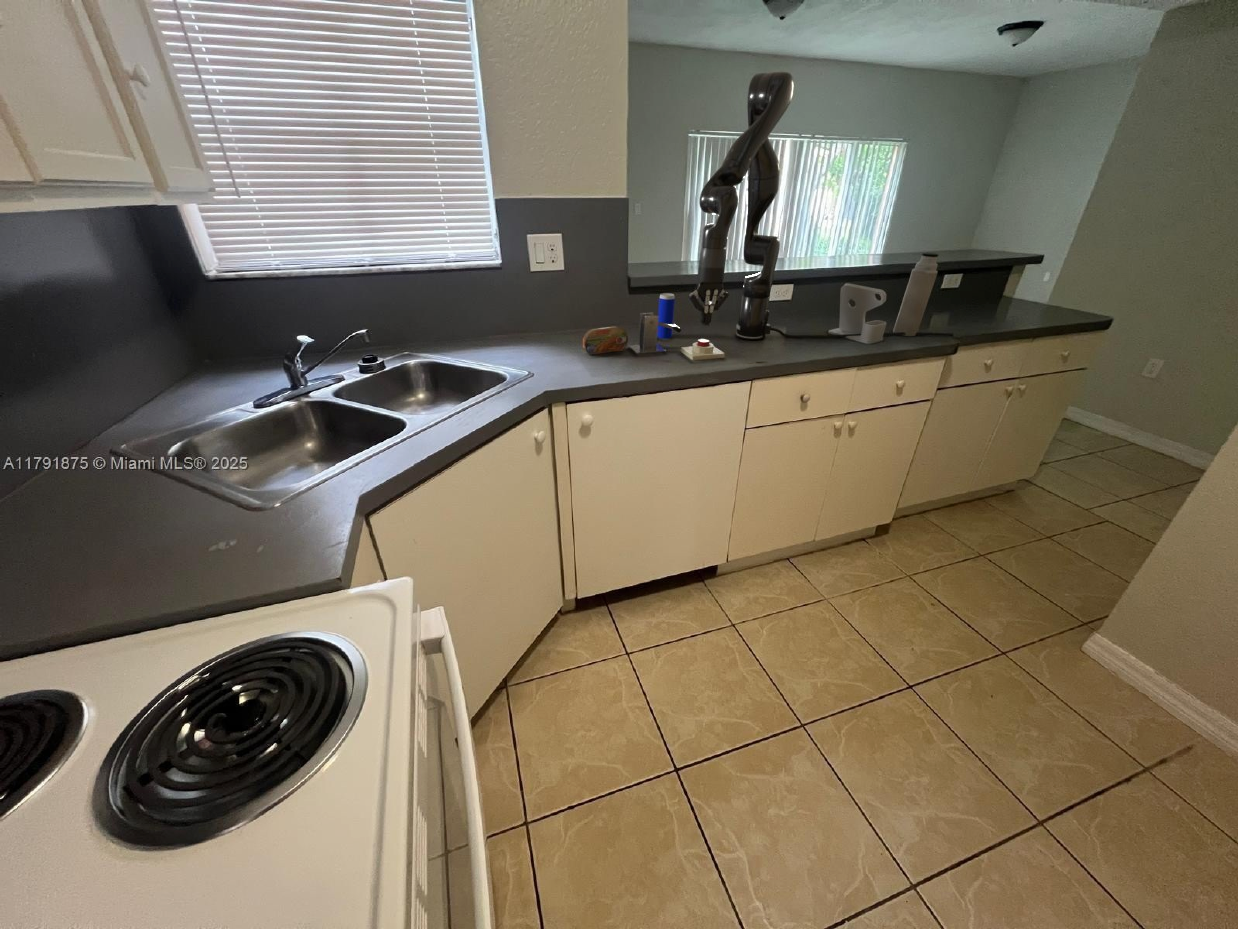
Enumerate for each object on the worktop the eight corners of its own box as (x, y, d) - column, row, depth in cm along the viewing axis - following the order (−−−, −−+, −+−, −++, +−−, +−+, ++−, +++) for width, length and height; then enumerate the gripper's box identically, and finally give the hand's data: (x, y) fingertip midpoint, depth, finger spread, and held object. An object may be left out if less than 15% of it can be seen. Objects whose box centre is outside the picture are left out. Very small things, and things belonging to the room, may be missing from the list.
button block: (710, 351, 159) (712, 339, 157) (724, 360, 152) (725, 347, 150) (680, 354, 156) (681, 341, 154) (692, 363, 149) (693, 350, 147)
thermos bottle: (894, 329, 188) (918, 250, 174) (917, 332, 184) (944, 252, 170) (891, 333, 182) (916, 253, 168) (915, 337, 179) (943, 255, 164)
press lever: (673, 330, 159) (676, 323, 158) (679, 334, 155) (682, 327, 154) (640, 321, 154) (643, 313, 154) (646, 325, 150) (649, 317, 149)
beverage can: (671, 337, 172) (675, 293, 165) (671, 341, 168) (675, 296, 160) (657, 336, 173) (659, 292, 165) (656, 340, 168) (659, 295, 161)
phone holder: (885, 340, 174) (901, 288, 165) (869, 344, 170) (884, 291, 160) (842, 328, 187) (855, 279, 177) (826, 332, 182) (838, 282, 173)
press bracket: (656, 346, 162) (659, 310, 156) (666, 354, 156) (668, 316, 150) (628, 349, 160) (629, 312, 154) (636, 356, 153) (638, 318, 147)
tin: (585, 358, 150) (585, 331, 146) (581, 355, 153) (580, 328, 148) (628, 352, 157) (628, 326, 152) (623, 349, 159) (624, 323, 155)
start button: (705, 343, 154) (706, 338, 153) (710, 347, 151) (711, 341, 150) (695, 344, 153) (696, 339, 152) (700, 348, 150) (701, 342, 149)
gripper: (696, 267, 135) (691, 329, 144) (738, 265, 139) (730, 326, 148) (685, 263, 141) (680, 322, 150) (726, 261, 145) (719, 320, 154)
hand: (705, 324), depth 149 cm, fingers closed
